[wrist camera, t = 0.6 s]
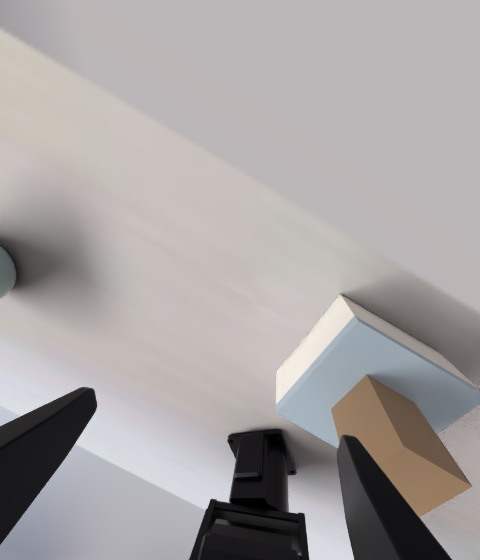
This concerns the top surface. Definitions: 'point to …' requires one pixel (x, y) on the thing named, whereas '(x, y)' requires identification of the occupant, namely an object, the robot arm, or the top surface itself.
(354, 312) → the box
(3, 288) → the cup
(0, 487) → the robot arm
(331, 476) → the top surface
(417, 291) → the top surface
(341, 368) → the lid
